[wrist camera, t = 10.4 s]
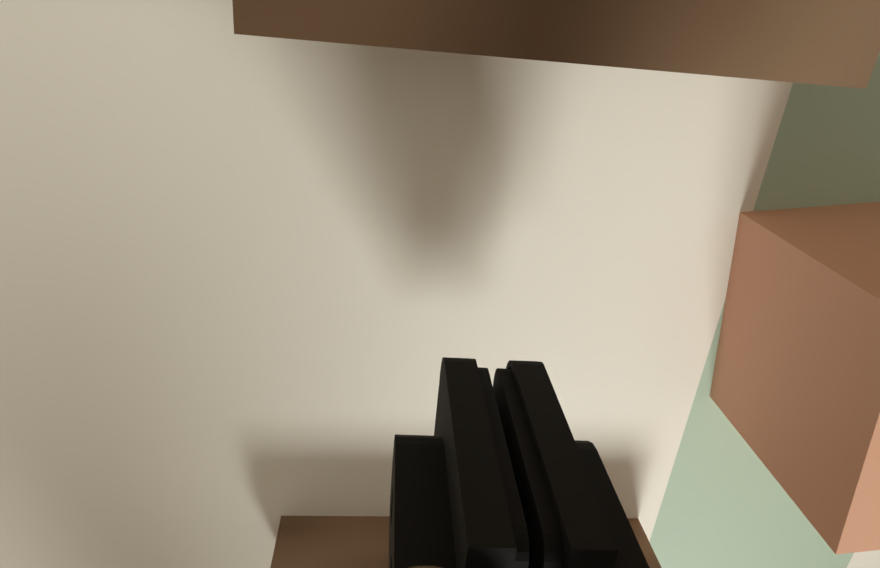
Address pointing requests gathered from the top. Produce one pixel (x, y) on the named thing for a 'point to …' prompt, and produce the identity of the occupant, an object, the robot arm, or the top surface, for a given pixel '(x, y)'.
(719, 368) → the block
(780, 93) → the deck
